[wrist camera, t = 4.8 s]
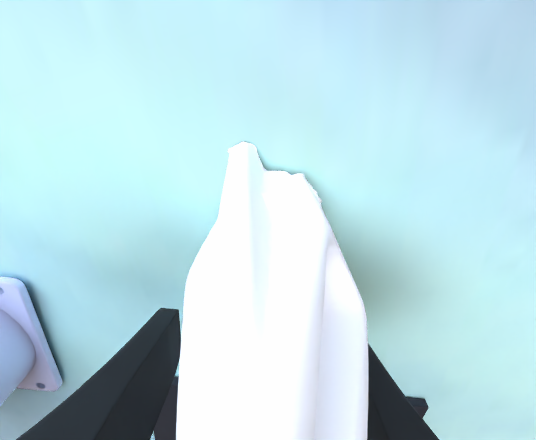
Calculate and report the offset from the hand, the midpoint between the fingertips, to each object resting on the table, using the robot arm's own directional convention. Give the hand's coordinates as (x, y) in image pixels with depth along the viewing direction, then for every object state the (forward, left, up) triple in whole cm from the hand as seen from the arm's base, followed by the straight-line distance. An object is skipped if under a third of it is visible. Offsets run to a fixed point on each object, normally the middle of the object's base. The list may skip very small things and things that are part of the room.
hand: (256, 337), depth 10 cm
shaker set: (0, 0, -3) cm, 3 cm away
